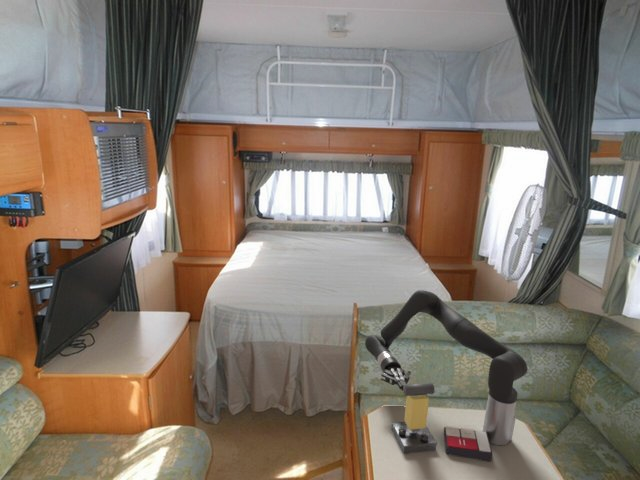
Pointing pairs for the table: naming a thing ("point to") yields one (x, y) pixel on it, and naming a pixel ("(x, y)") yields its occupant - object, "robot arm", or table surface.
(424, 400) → the yellow toy mallet
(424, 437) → the base
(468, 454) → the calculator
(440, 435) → the table surface
